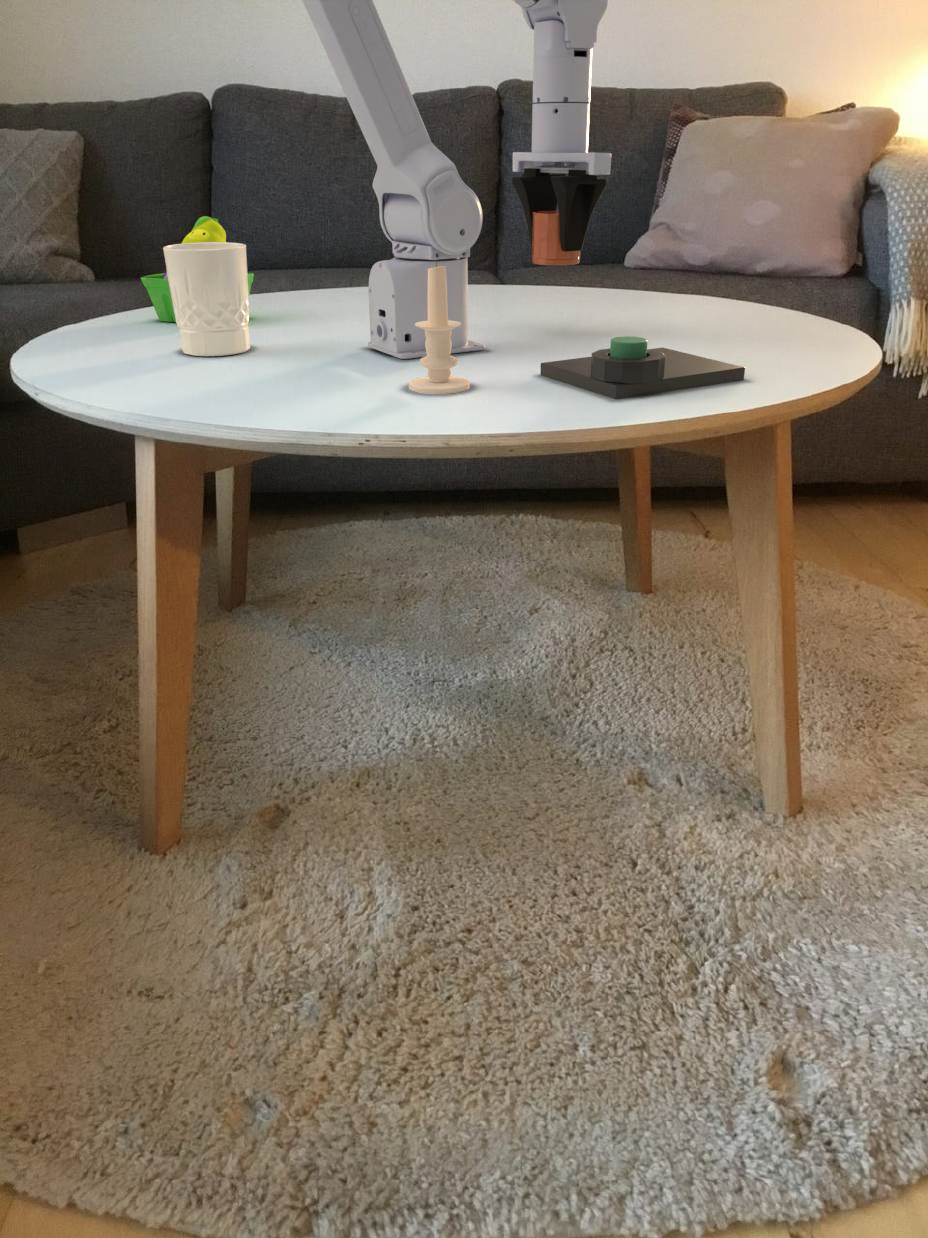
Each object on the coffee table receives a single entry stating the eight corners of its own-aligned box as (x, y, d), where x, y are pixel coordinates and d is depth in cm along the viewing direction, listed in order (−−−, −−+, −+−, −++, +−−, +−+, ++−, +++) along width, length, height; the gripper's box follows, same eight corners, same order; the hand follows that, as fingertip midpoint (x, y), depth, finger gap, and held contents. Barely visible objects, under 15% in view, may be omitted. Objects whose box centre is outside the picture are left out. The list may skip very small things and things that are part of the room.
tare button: (624, 363, 82) (626, 343, 81) (602, 357, 84) (603, 338, 84) (653, 359, 83) (655, 340, 83) (630, 353, 86) (632, 334, 85)
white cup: (271, 349, 103) (262, 245, 98) (205, 361, 97) (192, 251, 93) (226, 340, 107) (215, 240, 103) (161, 351, 102) (147, 246, 98)
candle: (396, 387, 87) (392, 259, 82) (445, 378, 89) (443, 254, 85) (432, 398, 83) (429, 264, 78) (482, 389, 86) (482, 259, 81)
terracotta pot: (549, 266, 104) (551, 214, 102) (523, 261, 108) (524, 211, 106) (589, 263, 106) (591, 212, 104) (561, 259, 110) (563, 209, 108)
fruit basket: (142, 322, 119) (128, 219, 114) (188, 311, 126) (177, 214, 121) (224, 327, 115) (213, 221, 110) (266, 316, 122) (258, 215, 117)
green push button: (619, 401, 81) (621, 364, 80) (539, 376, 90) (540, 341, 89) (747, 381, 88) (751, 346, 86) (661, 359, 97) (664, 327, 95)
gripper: (639, 101, 97) (630, 252, 102) (552, 106, 108) (548, 241, 114) (579, 100, 93) (573, 255, 99) (496, 105, 105) (495, 244, 111)
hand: (556, 248), depth 106 cm, fingers closed on terracotta pot, 5 cm apart
